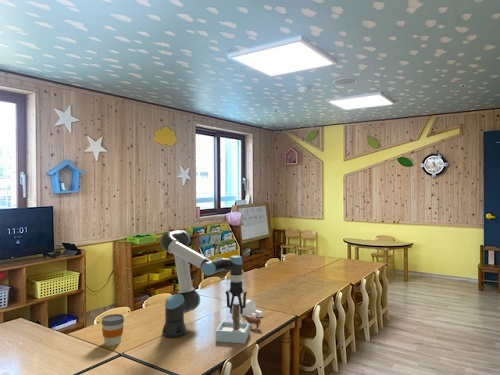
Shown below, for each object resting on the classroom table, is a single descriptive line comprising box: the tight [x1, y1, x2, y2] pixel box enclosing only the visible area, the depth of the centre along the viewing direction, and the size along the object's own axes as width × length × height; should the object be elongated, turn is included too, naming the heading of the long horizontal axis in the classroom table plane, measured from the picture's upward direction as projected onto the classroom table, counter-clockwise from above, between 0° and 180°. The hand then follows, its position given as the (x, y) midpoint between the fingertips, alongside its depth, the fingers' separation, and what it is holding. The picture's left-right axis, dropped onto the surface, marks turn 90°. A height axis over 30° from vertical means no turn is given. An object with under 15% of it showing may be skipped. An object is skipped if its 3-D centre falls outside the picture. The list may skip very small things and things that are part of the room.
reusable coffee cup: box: [101, 313, 125, 347], centre depth 218 cm, size 13×13×15 cm
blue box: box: [215, 320, 250, 344], centre depth 227 cm, size 18×16×6 cm
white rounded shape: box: [241, 299, 264, 318], centre depth 268 cm, size 18×10×11 cm, turn 45°
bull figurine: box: [243, 314, 261, 331], centre depth 243 cm, size 4×13×8 cm, turn 51°
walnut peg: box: [232, 302, 241, 330], centre depth 226 cm, size 4×4×15 cm
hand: (236, 318), depth 226 cm, fingers closed on walnut peg, 4 cm apart
